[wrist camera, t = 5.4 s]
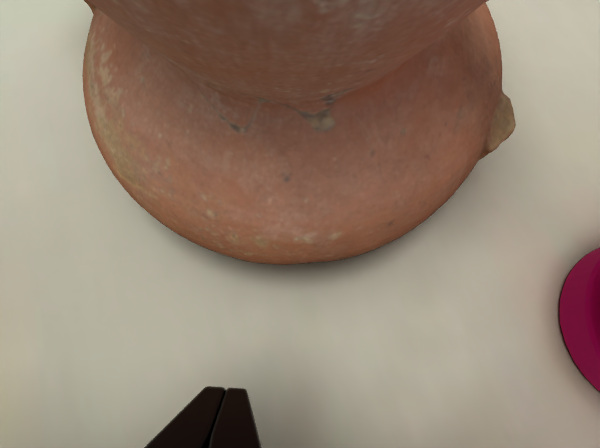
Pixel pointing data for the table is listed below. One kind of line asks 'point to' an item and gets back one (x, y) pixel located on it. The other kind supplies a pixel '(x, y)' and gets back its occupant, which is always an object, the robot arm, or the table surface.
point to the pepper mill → (583, 316)
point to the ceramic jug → (293, 116)
